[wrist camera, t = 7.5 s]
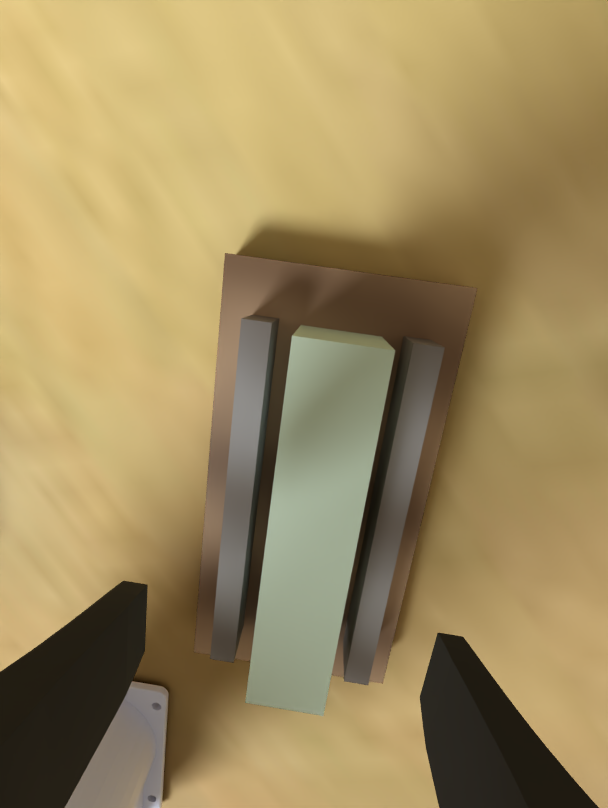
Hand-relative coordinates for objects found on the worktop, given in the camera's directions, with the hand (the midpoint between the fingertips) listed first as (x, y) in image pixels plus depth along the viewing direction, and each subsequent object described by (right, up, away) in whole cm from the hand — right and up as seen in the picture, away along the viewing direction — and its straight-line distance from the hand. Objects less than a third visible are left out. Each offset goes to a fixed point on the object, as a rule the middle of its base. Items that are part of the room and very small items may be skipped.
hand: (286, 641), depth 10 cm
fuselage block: (+1, +2, +7) cm, 7 cm away
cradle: (+1, +2, +8) cm, 9 cm away
